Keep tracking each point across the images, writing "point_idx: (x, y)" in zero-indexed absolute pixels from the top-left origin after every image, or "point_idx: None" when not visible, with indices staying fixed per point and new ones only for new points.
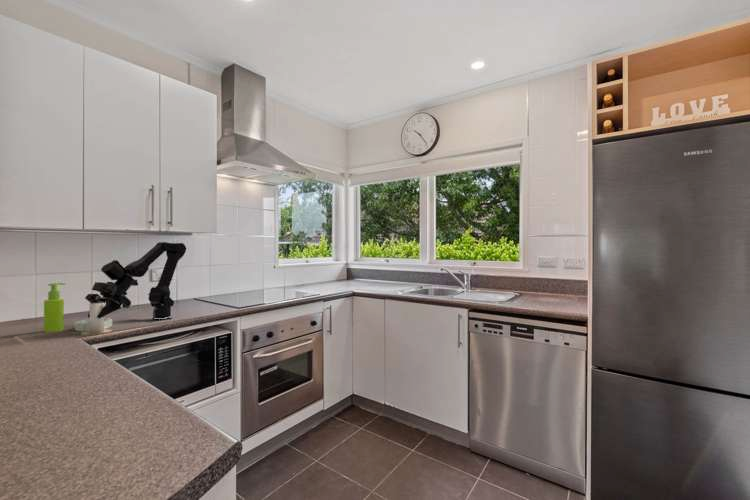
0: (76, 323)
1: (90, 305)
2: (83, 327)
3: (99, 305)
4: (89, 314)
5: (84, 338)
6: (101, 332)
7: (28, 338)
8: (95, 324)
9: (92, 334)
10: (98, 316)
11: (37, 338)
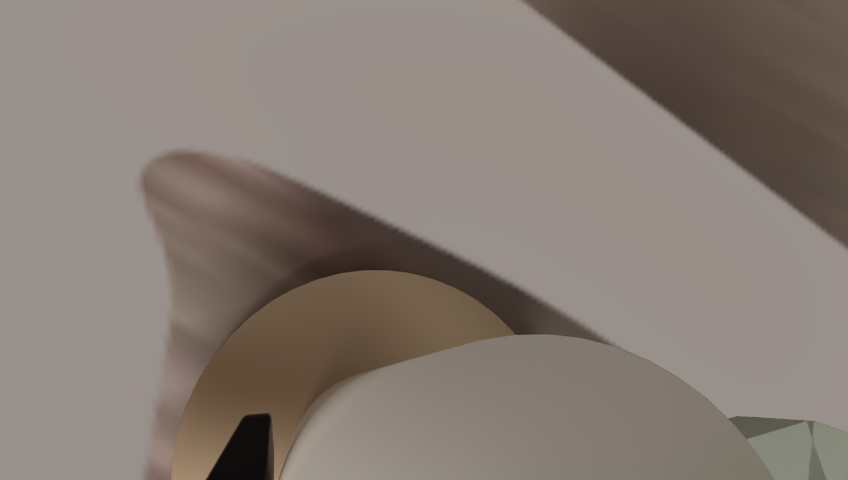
0: (835, 429)
1: (536, 341)
2: None
3: None
4: None
5: (210, 186)
6: None
7: (813, 46)
8: (317, 402)
9: (252, 315)
10: (240, 433)
11: (736, 64)
